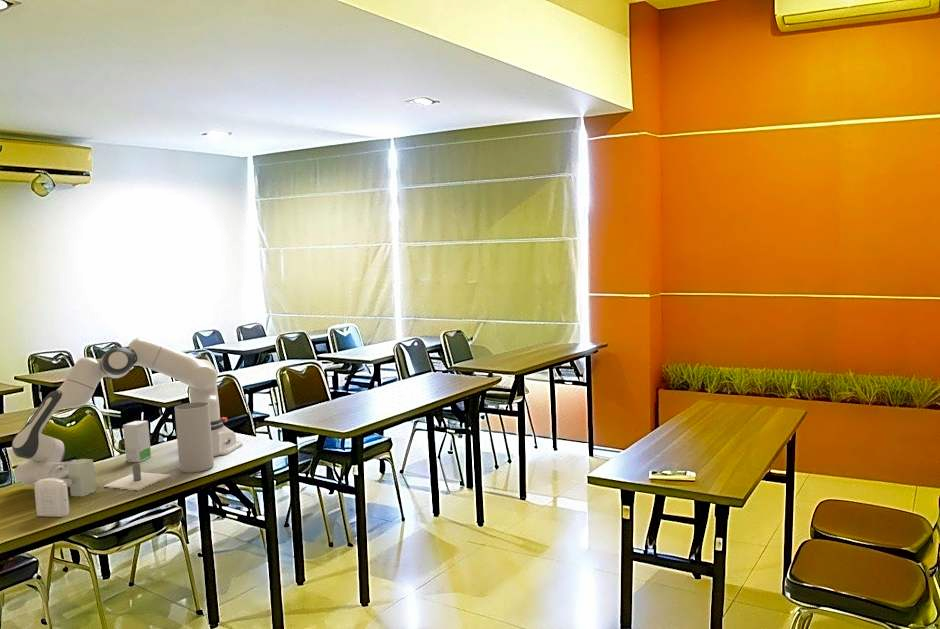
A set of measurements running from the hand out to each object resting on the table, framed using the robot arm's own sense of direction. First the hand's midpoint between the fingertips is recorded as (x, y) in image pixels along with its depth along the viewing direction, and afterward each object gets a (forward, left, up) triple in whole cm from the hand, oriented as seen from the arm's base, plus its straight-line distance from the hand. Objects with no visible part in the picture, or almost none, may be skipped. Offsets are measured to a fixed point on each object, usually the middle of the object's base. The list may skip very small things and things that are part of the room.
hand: (83, 477), depth 259 cm
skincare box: (-39, -14, -6) cm, 42 cm away
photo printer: (+19, +7, -6) cm, 21 cm away
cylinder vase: (-34, +20, -6) cm, 40 cm away
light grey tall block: (0, -1, -6) cm, 6 cm away
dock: (-15, +9, -6) cm, 19 cm away
